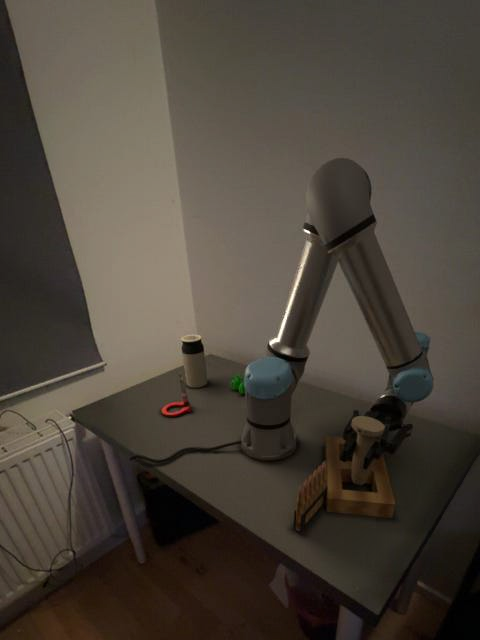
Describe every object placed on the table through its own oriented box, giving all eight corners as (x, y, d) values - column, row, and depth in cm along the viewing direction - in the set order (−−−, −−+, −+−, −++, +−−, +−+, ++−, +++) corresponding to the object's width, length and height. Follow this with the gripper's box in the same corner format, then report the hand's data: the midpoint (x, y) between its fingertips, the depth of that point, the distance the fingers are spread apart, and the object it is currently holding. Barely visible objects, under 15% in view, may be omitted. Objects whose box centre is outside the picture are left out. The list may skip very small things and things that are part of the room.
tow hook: (164, 420, 112) (192, 412, 114) (155, 384, 105) (185, 376, 107) (160, 409, 118) (186, 402, 121) (151, 374, 111) (179, 367, 114)
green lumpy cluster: (277, 384, 129) (278, 366, 126) (258, 401, 119) (257, 382, 115) (243, 376, 137) (242, 360, 133) (222, 392, 126) (220, 374, 122)
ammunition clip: (318, 499, 78) (322, 456, 71) (326, 503, 77) (331, 460, 70) (293, 529, 71) (294, 485, 65) (300, 534, 70) (303, 489, 64)
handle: (363, 493, 73) (374, 434, 66) (339, 478, 78) (347, 421, 70) (378, 484, 76) (389, 425, 68) (354, 469, 80) (362, 413, 72)
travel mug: (198, 389, 129) (192, 342, 119) (182, 385, 132) (175, 339, 123) (211, 381, 134) (207, 335, 125) (195, 377, 138) (189, 333, 128)
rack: (326, 511, 75) (328, 497, 72) (325, 448, 94) (326, 436, 92) (392, 518, 72) (395, 504, 70) (376, 451, 92) (379, 439, 89)
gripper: (424, 432, 82) (395, 489, 66) (354, 414, 90) (314, 461, 75) (431, 403, 78) (403, 458, 62) (358, 388, 86) (316, 432, 71)
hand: (354, 459), depth 68 cm, fingers closed on handle, 4 cm apart
